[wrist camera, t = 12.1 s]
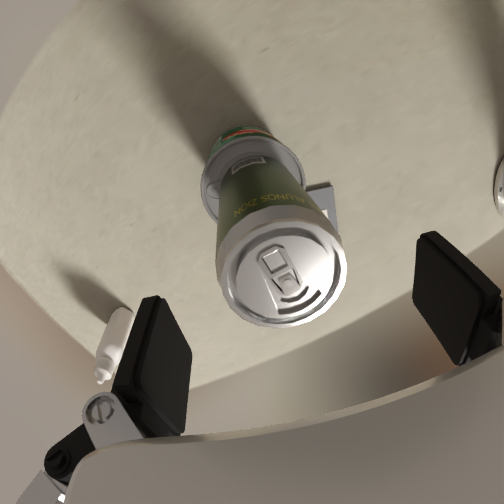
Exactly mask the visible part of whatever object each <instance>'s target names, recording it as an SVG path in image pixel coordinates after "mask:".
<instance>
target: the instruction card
mask: <svg viewBox="0 0 504 504" xmlns="http://www.w3.org/2000/svg"><path fill="white" fill-rule="evenodd" d="M306 192H307V193H308V195H309V196H310V197H311V198H312V199H313V201H314V202H315V203H316V204H317V206H318V207H319V208H320V209H321V211H322V212H323V213H324V214H325V216H326V217H327V218H328V220H329V221H330V222H331V224H332V225H333V227H334V228H335V230H336V231H337V233H338V226H337V217H336V209H335V201H334V193H333V186H326V187H321V188H317V189H312V190H307V191H306Z"/></svg>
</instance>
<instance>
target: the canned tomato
mask: <svg viewBox="0 0 504 504" xmlns="http://www.w3.org/2000/svg"><path fill="white" fill-rule="evenodd" d="M249 156H266V157H270V158H273V159H275V160H277V161H278V162H280V163H281V164H283V165H284V166H285V167H286V168H287V169H288V171H289V172H290V173H291V174H292V175H293V176H294V178H295V179H296V180H297V181H298V182H299V184H300V185H301V186H302V187H303V188H304V190H305V189H306V181H305V174H304V171H303V168H302V166H301V163H300V162H299V160H298V158H297V157H296V155H295V154H294V153H293V152H292V151H291V150H290V149H289V148H288V147H286V146H285V145H283V144H282V143H281V142H280V141H278V140H277V139H276V138H274V137H273V136H272V135H271V134H270V133H268V132H267V131H265V130H264V129H262V128H259V127H256V126H251V125H241V126H236V127H233V128H231V129H229V130H227V131H225V132H224V133H223V134H221V135H220V136H219V137H218V138H217V140H216V141H215V143H214V144H213V146H212V149H211V151H210V155H209V158H208V161H207V163H206V166H205V168H204V171H203V174H202V178H201V197H202V200H203V204H204V206H205V208H206V210H207V212H208V214H209V215H210V216H211V218H212V219H213V220H214V221H215V222H216V223H217V224H218V210H219V196H220V187H221V183H222V179H223V177H224V175H225V174H226V172H227V171H228V169H229V168H230V167H231V166H233V165H234V164H235V163H236V162H238V161H239V160H241V159H244V158H247V157H249Z"/></svg>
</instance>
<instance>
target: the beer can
mask: <svg viewBox="0 0 504 504" xmlns="http://www.w3.org/2000/svg"><path fill="white" fill-rule="evenodd" d="M215 264H216V273H217V281H218V283H219V284H220V286H221V288H222V291H223V295H224V297H225V299H226V301H227V303H228V305H229V306H230V308H231V309H232V310H233V311H234V312H235V313H236V314H237V315H239V316H240V317H241V318H242V319H244V320H246V321H248V322H250V323H253V324H255V325H257V326H262V327H268V328H286V327H294V326H297V325H300V324H303V323H305V322H308V321H311V320H312V319H314V318H315V317H317V316H319V315H320V314H322V313H323V312H325V311H326V310H327V309H328V308H329V307H330V306H331V304H332V303H333V302H334V301H335V300H336V299H337V298H338V296H339V294H340V292H341V290H342V288H343V286H344V284H345V278H346V271H347V264H346V260H345V255H344V251H343V246H342V242H341V238H340V235H339V234H338V233H337V231H336V230H335V228H334V227H333V225H332V224H331V222H330V221H329V220H328V218H327V217H326V216H325V214H324V213H323V212H322V211H321V209H320V208H319V207H318V206H317V204H316V203H315V202H314V201H313V199H312V198H311V197H310V196H309V195H308V193H307V192H306V191H305V190H304V188H303V187H302V186H301V185H300V184H299V182H298V181H297V180H296V179H295V178H294V176H293V175H292V174H291V173H290V172H289V171H288V169H287V168H286V167H285V166H284V165H283V164H281V163H280V162H278V161H277V160H275V159H273V158H270V157H266V156H249V157H247V158H244V159H241V160H239V161H238V162H236V163H235V164H234V165H233V166H231V167H230V168H229V169H228V171H227V172H226V174H225V175H224V177H223V179H222V183H221V187H220V196H219V210H218V226H217V242H216V260H215Z"/></svg>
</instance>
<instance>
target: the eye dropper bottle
mask: <svg viewBox="0 0 504 504" xmlns="http://www.w3.org/2000/svg"><path fill="white" fill-rule="evenodd" d="M133 321H134V314H133V312H131V311H129V310H128V309H126V308H124V307H120V308H118V309H116V310H115V311H114V312H113V313H112V315H111V317H110V319H109V321H108V324H107V326H106V329H105V331H104V333H103V336H102V338H101V341H100V343H99V346H98V349H97V351H96V361H97V362H96V365H95V368H94V373H95V374H96V376H97V383H99V384H102V383H103V382H104V380H109V379H111V377H112V374H113V370H114V367H115V366H117V365H118V363H119V362H120V360H121V357H122V354H123V351H124V349H125V346H126V343H127V340H128V337H129V334H130V331H131V327H132V324H133Z"/></svg>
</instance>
